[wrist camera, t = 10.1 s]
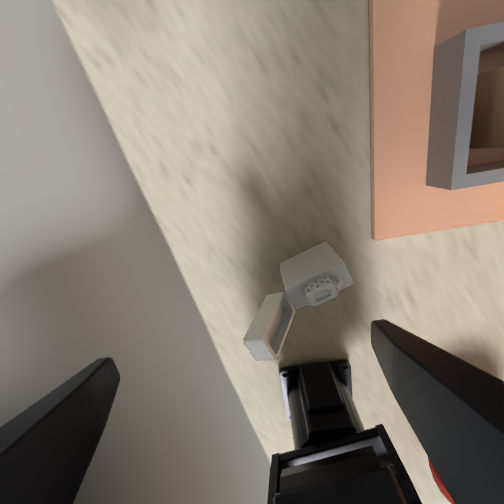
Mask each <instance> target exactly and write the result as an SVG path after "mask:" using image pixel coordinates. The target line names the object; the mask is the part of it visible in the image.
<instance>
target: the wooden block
mask: <svg viewBox="0 0 504 504" xmlns="http://www.w3.org/2000/svg"><path fill="white" fill-rule="evenodd" d="M483 148H504V66H502V67H499V68H496V69H493V70H490V71H487V72H484V73H481V74H478V75H477V83H476V92H475V101H474V110H473V119H472V127H471V136H470V145H469V149H483Z"/></svg>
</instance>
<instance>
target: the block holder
mask: <svg viewBox="0 0 504 504" xmlns="http://www.w3.org/2000/svg"><path fill="white" fill-rule="evenodd" d="M369 27H370V118H371V209H372V239H373V240H374V241H376V240H383V239H389V238H395V237H402V236H408V235H414V234H421V233H427V232H433V231H440V230H446V229H452V228H458V227H465V226H471V225H477V224H484V223H490V222H496V221H503V220H504V148H483V149H469V145H470V136H471V127H472V119H473V110H474V101H475V92H476V83H477V75H478V74H481V73H484V72H487V71H490V70H493V69H496V68H499V67H502V66H504V0H369Z"/></svg>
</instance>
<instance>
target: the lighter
mask: <svg viewBox="0 0 504 504" xmlns="http://www.w3.org/2000/svg"><path fill="white" fill-rule="evenodd" d="M279 267H280V271H281V275H282V280H283V284H284V288H285V292H280V293H274V294H269V295H267V296H266V297H265V299H264V301H263V303H262V305H261V307H260V309H259V311H258V312H257V314H256V316H255V318H254V320H253V322H252V324H251V326H250V327H249V329H248V331H247V333H246V335H245V337H244V344H245V346H246V347H247V348H248V350H249V351H250V353H251V354H252V356H253V357H254V359H255V360H278V357H279V354H280V352H281V349H282V346H283V344H284V341H285V338H286V336H287V333H288V330H289V328H290V325H291V322H292V320H293V317H294V314H295V309H300V308H302V307H305V306H307V305H309V304H310V305H311V307H315V306H317V305H320V304H322V303H324V302H326V301H329V300H331V299H333V298H335V297H338V291H340V290H342V289H345V288H347V287H349V286H351V285H352V284H353V279H352V277H351V275H350V273H349V270H348V268H347V266H346V264H345V263H344V262H343V260H342V259H341V258H340V257H339V256H338V254H337V253H336V252H335V251H334V249H333V248H332V247H331V246H330V245H329V243H328V242H326V241H324V242H322V243H320V244H317V245H315V246H313V247H311V248H309V249H307V250H305V251H303V252H301V253H299V254H297V255H295V256H293V257H291V258H289V259H287V260H285V261H283V262H281V263H280V265H279Z"/></svg>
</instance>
